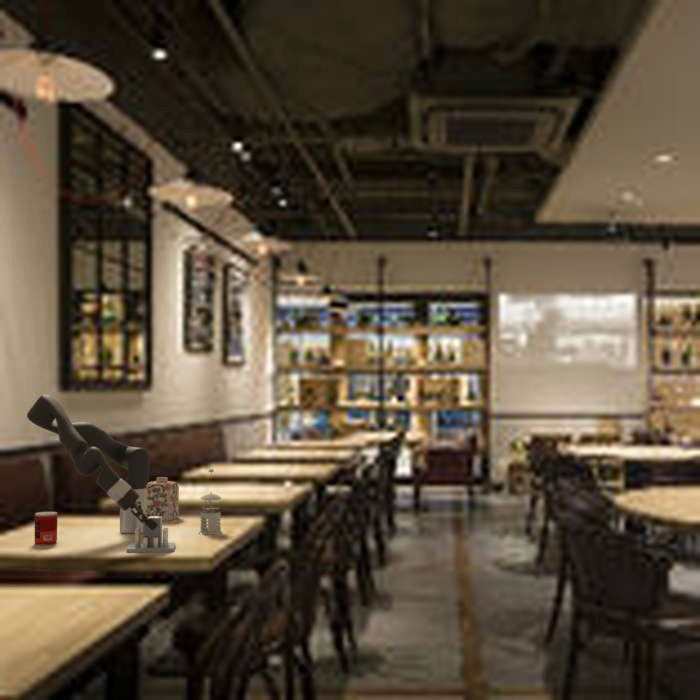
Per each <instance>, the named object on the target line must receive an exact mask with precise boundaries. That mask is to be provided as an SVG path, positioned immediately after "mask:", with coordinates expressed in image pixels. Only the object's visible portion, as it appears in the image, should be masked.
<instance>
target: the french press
mask: <svg viewBox="0 0 700 700" xmlns="http://www.w3.org/2000/svg"><path fill="white" fill-rule="evenodd" d="M208 473H210V478H212V476H213V475H212V473H215V471H214V469H211V468H210V469H209V470H208ZM200 499H201V500H203V506H202V507H201V510H202V511H201V512H200V530H199V531H198V532H199V533H202V534H218V535H221V534H220V533H222V534H223V533H224V532H223V531H222V530H221V527H222V526H221V522H222V521H221V518H222V517H221V515H222V513H221V511H219V510H221V508H220V507H219V506H218V507H217V506H212V504H211V501H219V500H222V497H221V496H219V495H218V494H215V493H212V492H210V493H208V494H204V495H202V496H201V497H200ZM205 504H206V506H205ZM209 504H210V506H209Z"/></svg>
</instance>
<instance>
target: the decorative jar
mask: <svg viewBox="0 0 700 700" xmlns="http://www.w3.org/2000/svg"><path fill="white" fill-rule="evenodd" d="M179 492H180V487H179V485H178V484H177V482H176V481H172V480H171V481H170V480H168V477H165V476H158V477H156V480H154V481H153V480H152V481H150V482H149V481H148V482H147V490H146V509H147V510H148V511H150V513H151V515H152V516H162V522H170V521H173V520H176V519H178V518H179V515H180V513H179V510H180V509H179V507H180V501H179V500H180V493H179Z"/></svg>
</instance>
